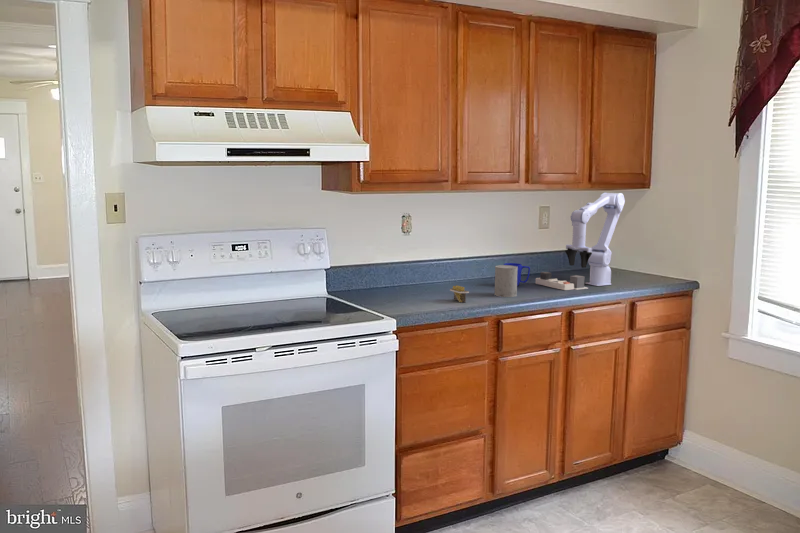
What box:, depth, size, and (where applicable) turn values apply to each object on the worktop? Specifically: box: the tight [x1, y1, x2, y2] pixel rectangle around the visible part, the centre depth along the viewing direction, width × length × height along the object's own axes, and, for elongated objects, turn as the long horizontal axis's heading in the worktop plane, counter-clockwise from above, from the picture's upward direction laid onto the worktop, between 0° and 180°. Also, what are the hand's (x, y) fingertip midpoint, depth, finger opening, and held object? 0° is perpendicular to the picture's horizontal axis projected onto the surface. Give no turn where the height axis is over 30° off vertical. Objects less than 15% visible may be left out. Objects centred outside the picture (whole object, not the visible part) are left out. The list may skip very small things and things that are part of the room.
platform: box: [449, 284, 470, 303], centre depth 276 cm, size 12×18×7 cm, turn 31°
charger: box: [569, 274, 586, 288], centre depth 310 cm, size 4×5×5 cm
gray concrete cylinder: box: [494, 264, 518, 298], centre depth 290 cm, size 10×10×12 cm
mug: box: [503, 262, 531, 287], centre depth 314 cm, size 8×12×10 cm
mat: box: [573, 286, 589, 291], centre depth 310 cm, size 7×7×1 cm
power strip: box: [535, 271, 575, 291], centre depth 314 cm, size 6×20×6 cm, turn 29°
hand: (577, 266), depth 309 cm, fingers open, 7 cm apart
